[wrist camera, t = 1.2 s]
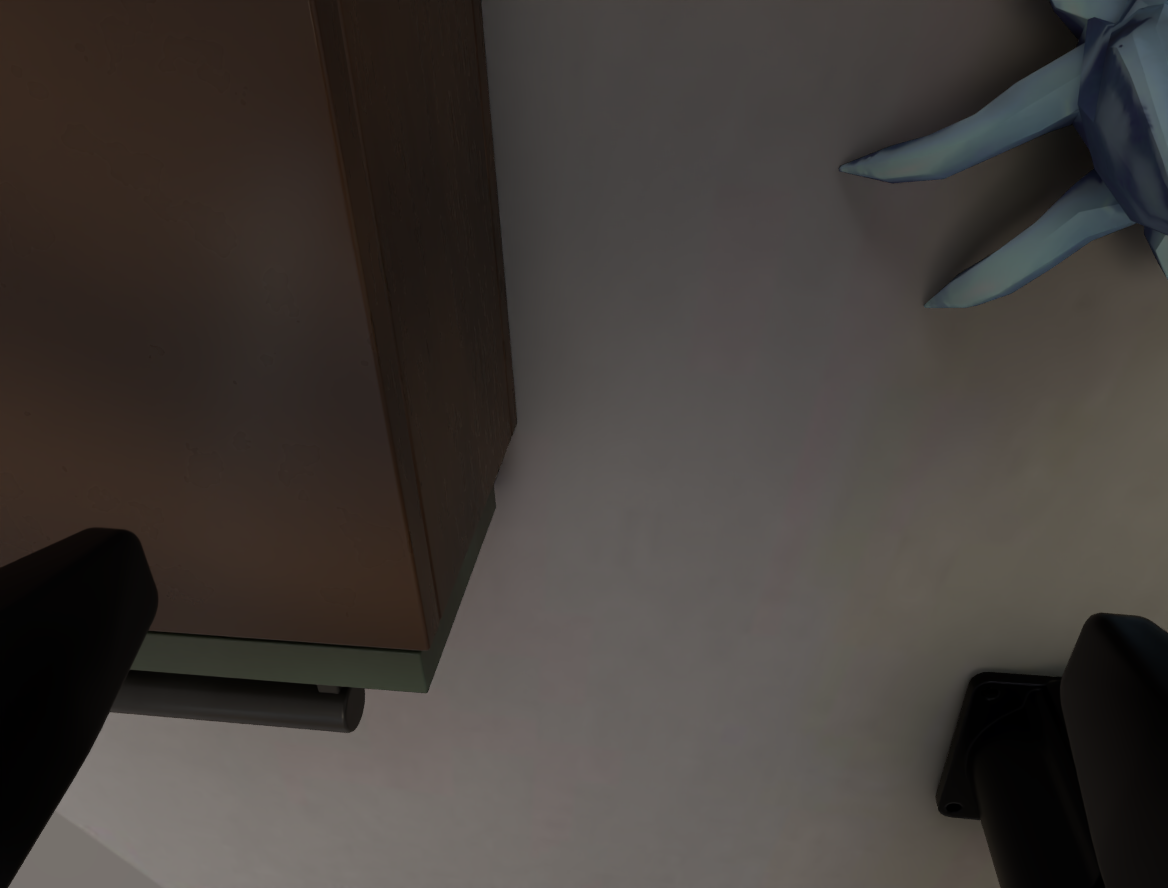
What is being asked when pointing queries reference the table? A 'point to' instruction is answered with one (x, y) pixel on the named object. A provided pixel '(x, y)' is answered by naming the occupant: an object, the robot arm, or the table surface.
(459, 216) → the cabinet
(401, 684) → the drawer
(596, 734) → the table surface
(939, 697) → the table surface
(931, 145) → the figurine
